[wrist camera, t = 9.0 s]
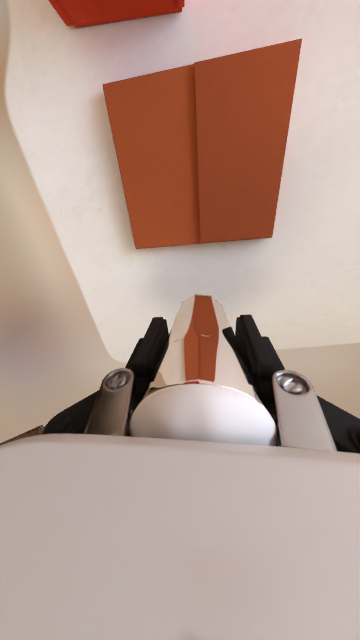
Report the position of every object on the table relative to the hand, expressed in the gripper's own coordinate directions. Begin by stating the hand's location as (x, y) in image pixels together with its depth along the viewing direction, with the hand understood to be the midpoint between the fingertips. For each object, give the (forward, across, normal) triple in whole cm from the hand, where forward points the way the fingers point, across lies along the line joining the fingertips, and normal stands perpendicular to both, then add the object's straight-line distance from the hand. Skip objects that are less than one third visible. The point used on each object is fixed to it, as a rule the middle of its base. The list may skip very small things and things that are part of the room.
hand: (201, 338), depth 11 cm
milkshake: (+3, 0, 0) cm, 3 cm away
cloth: (+11, 0, -10) cm, 14 cm away
